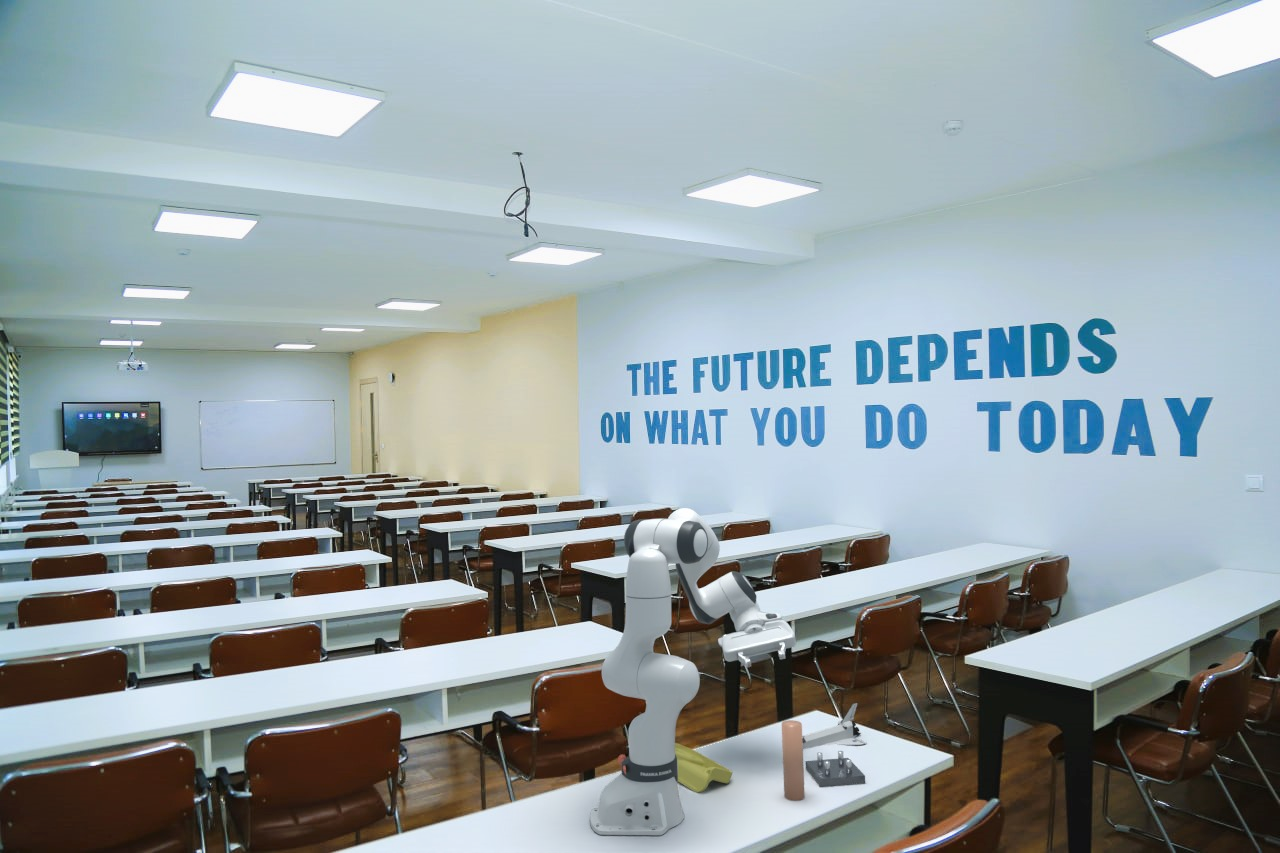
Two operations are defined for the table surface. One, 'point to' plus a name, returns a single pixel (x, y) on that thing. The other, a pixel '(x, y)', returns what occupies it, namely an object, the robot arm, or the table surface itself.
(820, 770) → the plate
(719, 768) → the plastic component
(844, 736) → the space shuttle model
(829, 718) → the table surface
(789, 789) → the canister
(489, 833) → the table surface
